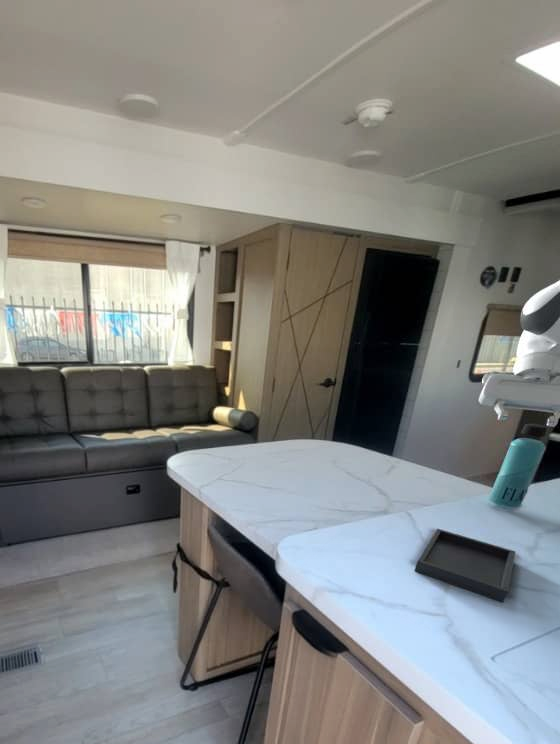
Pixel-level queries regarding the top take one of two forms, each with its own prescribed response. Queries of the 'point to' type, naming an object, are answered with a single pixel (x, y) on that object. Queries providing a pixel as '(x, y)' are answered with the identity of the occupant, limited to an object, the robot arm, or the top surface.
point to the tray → (468, 564)
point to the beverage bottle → (519, 468)
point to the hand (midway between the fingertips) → (526, 422)
